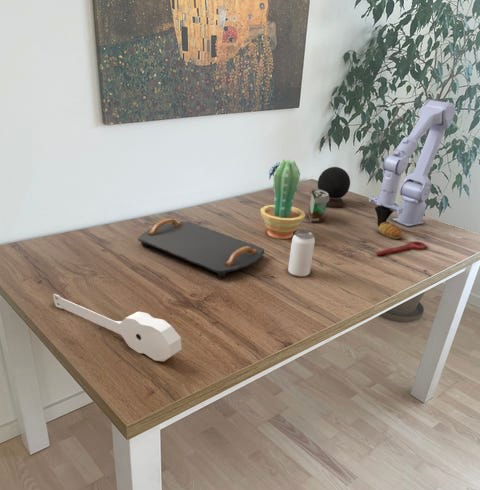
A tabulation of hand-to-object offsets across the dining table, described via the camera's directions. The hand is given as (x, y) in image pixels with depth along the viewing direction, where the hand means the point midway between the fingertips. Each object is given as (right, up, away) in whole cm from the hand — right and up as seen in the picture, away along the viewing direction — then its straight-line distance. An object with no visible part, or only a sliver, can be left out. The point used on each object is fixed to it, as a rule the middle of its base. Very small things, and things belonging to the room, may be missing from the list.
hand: (380, 226), depth 178 cm
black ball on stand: (-14, +13, +24) cm, 31 cm away
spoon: (+2, -11, -15) cm, 19 cm away
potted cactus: (-38, -5, -10) cm, 40 cm away
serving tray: (-64, -13, -28) cm, 71 cm away
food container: (-22, +4, +6) cm, 23 cm away
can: (-35, -20, -36) cm, 53 cm away
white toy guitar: (-80, -35, -69) cm, 112 cm away
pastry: (+2, -4, -3) cm, 5 cm away
